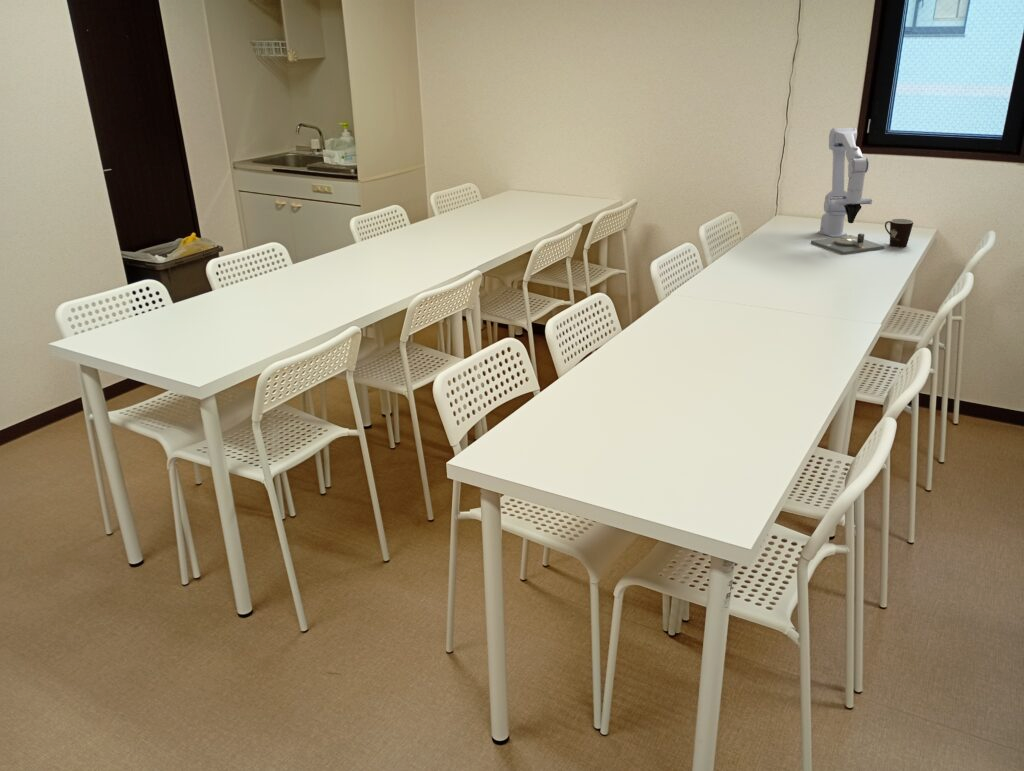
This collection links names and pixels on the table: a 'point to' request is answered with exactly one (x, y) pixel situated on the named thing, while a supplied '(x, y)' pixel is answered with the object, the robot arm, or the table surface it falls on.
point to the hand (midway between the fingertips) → (850, 222)
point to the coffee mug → (899, 232)
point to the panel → (844, 250)
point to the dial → (849, 240)
